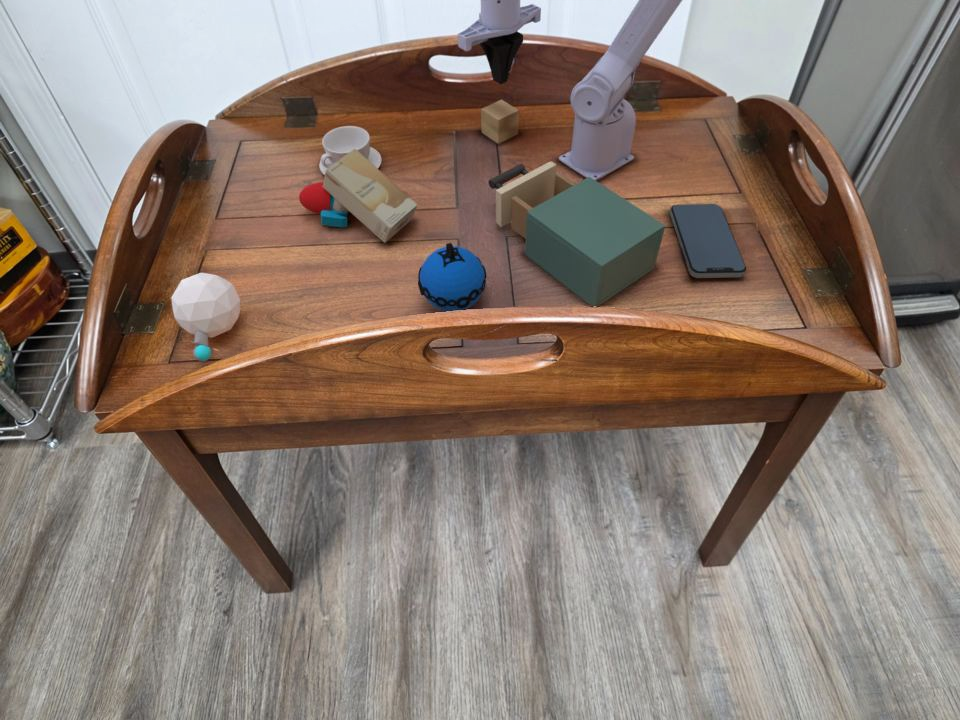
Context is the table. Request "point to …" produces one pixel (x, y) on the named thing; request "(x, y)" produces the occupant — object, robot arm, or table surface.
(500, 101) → the block
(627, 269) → the cabinet
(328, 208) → the toy figure
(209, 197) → the table surface
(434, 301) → the ornament
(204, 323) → the perfume bottle
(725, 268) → the smartphone
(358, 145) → the teacup
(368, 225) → the cosmetic box
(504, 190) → the drawer
